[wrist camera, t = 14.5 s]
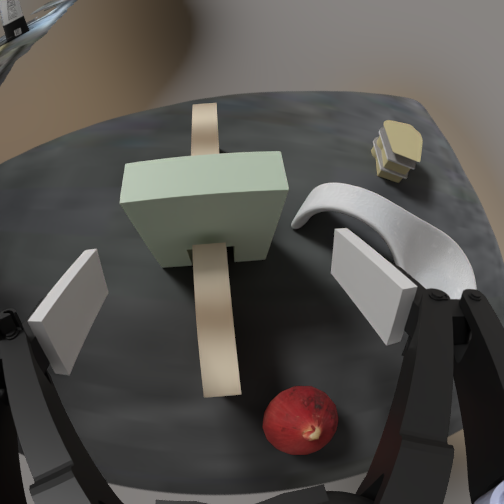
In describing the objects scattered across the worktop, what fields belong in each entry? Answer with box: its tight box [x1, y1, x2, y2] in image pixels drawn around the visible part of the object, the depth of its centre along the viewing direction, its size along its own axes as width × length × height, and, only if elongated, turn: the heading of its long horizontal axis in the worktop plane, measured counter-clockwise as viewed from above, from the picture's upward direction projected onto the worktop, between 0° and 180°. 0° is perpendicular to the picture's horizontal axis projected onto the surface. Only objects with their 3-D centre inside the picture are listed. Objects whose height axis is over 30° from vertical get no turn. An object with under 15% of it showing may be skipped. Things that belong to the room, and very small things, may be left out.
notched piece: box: [120, 151, 289, 268], centre depth 22 cm, size 10×3×12 cm, turn 96°
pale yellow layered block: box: [371, 120, 422, 183], centre depth 32 cm, size 10×9×6 cm
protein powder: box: [0, 0, 29, 41], centre depth 44 cm, size 10×24×30 cm, turn 69°
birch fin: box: [191, 103, 241, 397], centre depth 24 cm, size 26×2×7 cm, turn 7°
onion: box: [263, 386, 338, 455], centre depth 19 cm, size 6×6×8 cm
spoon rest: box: [291, 183, 477, 299], centre depth 25 cm, size 24×12×7 cm, turn 59°
